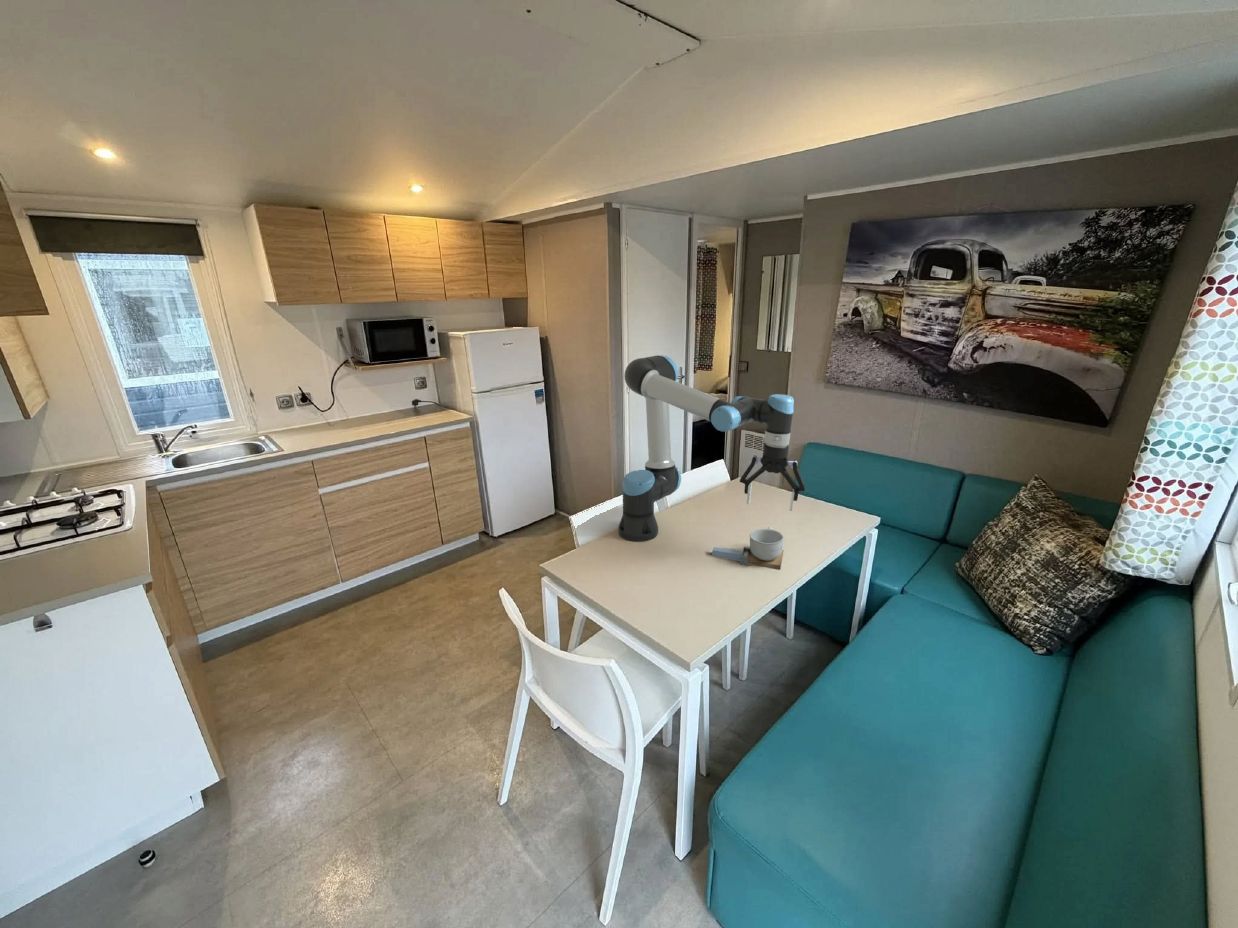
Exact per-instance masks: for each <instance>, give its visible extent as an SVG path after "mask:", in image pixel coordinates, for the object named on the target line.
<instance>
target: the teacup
mask: <svg viewBox="0 0 1238 928" xmlns="http://www.w3.org/2000/svg"><path fill="white" fill-rule="evenodd" d="M783 545H784V535H783V534H782V533H781V532H780V531H777V530H775V529H774V528H773V527H772V526H769V527H767V528H758V529H754V530H752V531H750V533H749V547H750V550H751V552H752V554H753V555H754V556H756V557H757V558H758V559H761V560H765V561H770V560H774V559H775V558H777V557H779V556H780V555H781V553H782V550H783V547H784V546H783Z"/></svg>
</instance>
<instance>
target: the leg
mask: <svg viewBox="0 0 1238 928" xmlns="http://www.w3.org/2000/svg"><path fill="white" fill-rule="evenodd" d="M743 551H744V550H738V549H731V548H727V547H726V548H724V547H717V546H714V547H713V548H712V552H711V554H712V555H711V556H712V557H715V558H722V559H726V560H732V561H733V560H734V561H736V562H738V561H739V562H740V559H741V555H743ZM748 555H749V552H747V551H745V552H744V555H743V556H748Z"/></svg>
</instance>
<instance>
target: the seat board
mask: <svg viewBox="0 0 1238 928" xmlns="http://www.w3.org/2000/svg"><path fill="white" fill-rule="evenodd" d="M783 557H784V549H782V553H781V555H780V556H779V557H777V558H775V559H774V560H770V561H765V560H761V559H758V558H757V557H756V556H754V555H753V554H752V552H751V553H749V555H748V565H749V564H750V565H754V566H755V565H756V566H759V567H760V566H761V567H765V568H771V569H776V570H781V568H782V562H783Z"/></svg>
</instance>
